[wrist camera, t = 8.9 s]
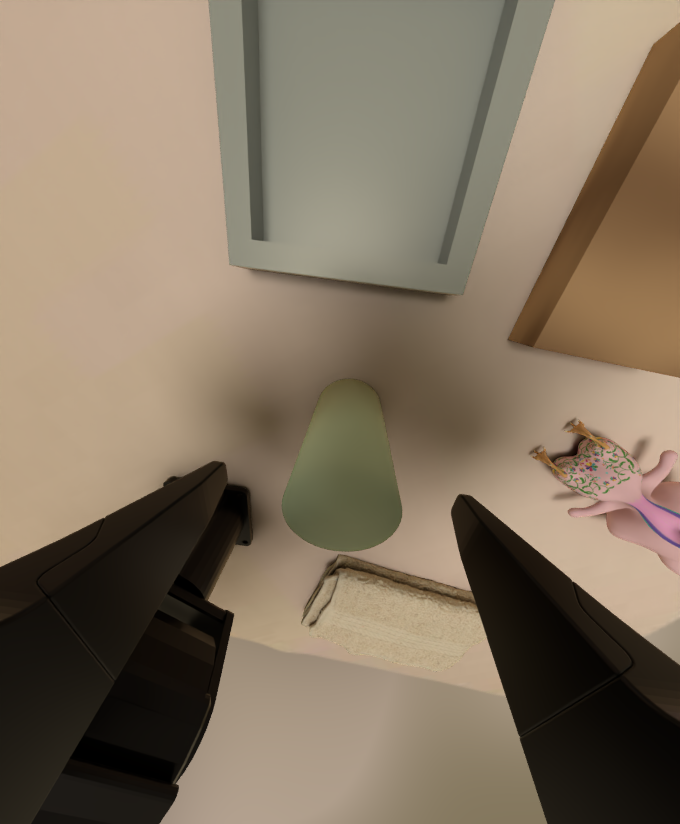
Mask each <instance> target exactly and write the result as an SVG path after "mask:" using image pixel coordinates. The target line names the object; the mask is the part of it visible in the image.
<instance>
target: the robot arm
mask: <svg viewBox="0 0 680 824" xmlns="http://www.w3.org/2000/svg"><path fill="white" fill-rule="evenodd" d="M227 480H228V478H227V470H226V464H225V463H224V462H219V461H213V462H211V463H209V464H207V465H205V466H203V467H201V468H199V469H197V470H195V471H193V472H191V473H189V474H187V475H185V476H184V477H182V478H180V479H177V478H168V479H167V480H166V481H165V482H164V484H163V486H164V487H162V488H160V489H158V490H156V491H154V492H152V493H151V494H149V495H147V496H145V497H143V498H141V499H139V500H137V501H135V502H133V503H131V504H129V505H127V506H125V507H123V508H121V509H119V510H118V511H116V512H114V513H112V514H110V515H108V516H106V517H105V518H102V519H100V520H98V521H96V522H94V523H92V524H90V525H88V526H86V527H84V528H82V529H80V530H78V531H76V532H74V533H72V534H70V535H68V536H66V537H64V538H62V539H60V540H58V541H56V542H54V543H51V544H49V545H47V546H45V547H43V548H41V549H39V550H37V551H34V552H32V553H30V554H28V555H26V556H23V557H21V558H19V559H17V560H15V561H12V562H10V563H8V564H6V565H4V566H1V567H0V824H159V823H160V822H161V820H162V819H163V817H164V816H165V814H166V813H167V812H168V810H169V809H170V807H171V806H172V804H173V802H174V801H175V798H176V796H177V793H178V789H179V786H178V785H176V782H177V781H178V780H179V778H180V777H181V776H182V774H183V773H184V772H185V770H186V768H187V767H188V765H189V763H190V762H191V760H192V758H193V757H194V755H195V753H196V751H197V749H198V747H199V745H200V742H201V740H202V738H203V736H204V733H205V731H206V729H207V726H208V723H209V720H210V718H211V714H212V712H213V708H214V704H215V700H216V696H217V692H218V687H219V682H220V677H221V673H222V669H223V664H224V659H225V655H226V650H227V646H228V641H229V636H230V632H231V627H232V623H233V618H234V613H232V612H230V611H228V610H223V609H221V608H219V607H217V606H216V605H214V604H212V603H210V602H209V601H208V599H209V597H210V595H211V593H212V591H213V589H214V587H215V585H216V583H217V581H218V579H219V577H220V574H221V572H222V570H223V568H224V566H225V564H226V562H227V560H228V558H229V556H230V554H231V552H232V550H233V548H234V546H235V544H236V545H244V546H249V545H250V544H251V542H252V539H253V537H252V523H251V510H250V497H249V491H248V490H247V489H245V488H243V487H236V486H228V485H226V484H227ZM451 516H452V521H453V525H454V530H455V535H456V539H457V544H458V548H459V552H460V556H461V560H462V563H463V566H464V569H465V572H466V575H467V578H468V581H469V584H470V587H471V590H472V594H473V597H474V600H475V603H476V606H477V609H478V612H479V615H480V618H481V621H482V624H483V627H484V630H485V633H486V636H487V639H488V643H489V646H490V649H491V652H492V655H493V658H494V661H495V664H496V667H497V670H498V673H499V676H500V679H501V682H502V685H503V689H504V692H505V695H506V698H507V701H508V704H509V707H510V710H511V713H512V716H513V719H514V722H515V725H516V728H517V731H518V734H519V736H520V741H521V744H522V747H523V750H524V754H525V756H526V759H527V763H528V765H529V769H530V772H531V775H532V778H533V781H534V784H535V787H536V790H537V793H538V796H539V799H540V802H541V806H542V808H543V812H544V815H545V818H546V821H547V824H680V665H679V664H677V663H676V662H675V661H673V660H672V659H671V658H670V657H668V656H667V655H666V654H664V653H663V652H662V651H661V650H659V649H658V648H656V647H655V646H654V645H653V644H651V643H650V642H649V641H647V640H646V639H645V638H644V637H642V636H641V635H640V634H638V633H637V632H636V631H635V630H633V629H632V628H631V627H629V626H628V625H627V624H626V623H624V622H623V621H622V620H620V619H619V618H618V617H617V616H615V615H614V614H613V613H611V612H610V611H609V610H608V609H607V608H605V607H604V606H603V605H602V604H600V603H599V602H598V601H597V600H595V599H594V598H593V597H592V596H591V595H589V594H588V593H587V592H586V591H585V590H583V589H582V588H581V587H580V586H579V585H577V584H576V583H575V582H572V580H571V579H570V578H569V577H568V576H567V575H565V574H564V573H563V572H562V571H561V570H559V569H558V568H557V567H556V566H555V565H553V564H552V563H551V562H550V561H549V560H547V559H546V558H545V557H544V556H543V555H541V554H540V553H539V552H538V551H537V550H535V549H534V548H533V547H532V546H531V545H529V544H528V543H527V542H526V541H525V540H523V539H522V538H521V537H520V536H519V535H517V534H516V533H515V532H514V531H513V530H511V529H510V528H509V527H508V526H507V525H506V524H504V523H503V522H502V521H501V520H500V519H498V518H497V517H496V516H495V515H494V514H492V513H491V512H490V511H489V510H488V509H486V508H485V507H484V506H483V505H482V504H480V503H479V502H478V501H477V500H476V499H474V498H473V497H472V496H470V495H464V494H459V495H458V496H457V498H456V500H455V503H454V505H453V507H452V510H451Z"/></svg>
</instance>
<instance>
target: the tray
mask: <svg viewBox="0 0 680 824" xmlns="http://www.w3.org/2000/svg"><path fill="white" fill-rule="evenodd" d="M208 1H209V13H210V26H211V38H212V51H213V63H214V76H215V88H216V101H217V113H218V126H219V139H220V151H221V164H222V176H223V189H224V201H225V214H226V226H227V239H228V252H229V264H230V265H232V266H237V267H241V268H246V269H252V270H259V271H267V272H275V273H283V274H290V275H298V276H306V277H313V278H321V279H329V280H337V281H344V282H352V283H360V284H367V285H375V286H383V287H391V288H398V289H406V290H414V291H421V292H429V293H437V294H445V295H463V293H464V289H465V286H466V283H467V280H468V277H469V274H470V270H471V267H472V264H473V261H474V258H475V254H476V251H477V248H478V245H479V242H480V238H481V235H482V232H483V229H484V226H485V222H486V219H487V216H488V213H489V210H490V206H491V203H492V200H493V197H494V194H495V190H496V187H497V184H498V181H499V178H500V174H501V171H502V168H503V165H504V162H505V158H506V155H507V152H508V149H509V146H510V142H511V139H512V136H513V133H514V130H515V126H516V123H517V120H518V117H519V114H520V110H521V107H522V104H523V101H524V98H525V94H526V91H527V88H528V85H529V82H530V78H531V75H532V72H533V69H534V66H535V63H536V59H537V56H538V53H539V50H540V47H541V43H542V40H543V37H544V34H545V31H546V27H547V24H548V21H549V18H550V15H551V11H552V8H553V5H554V2H555V0H208Z"/></svg>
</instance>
